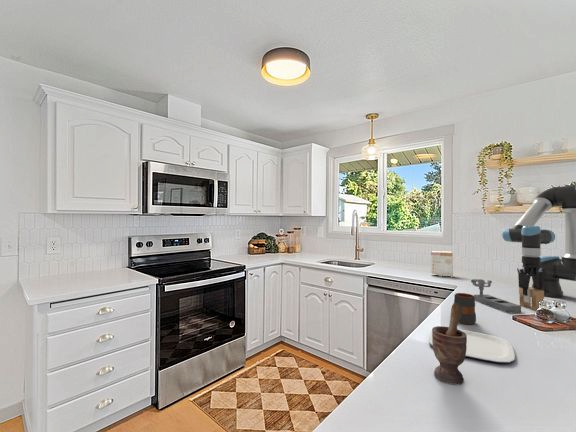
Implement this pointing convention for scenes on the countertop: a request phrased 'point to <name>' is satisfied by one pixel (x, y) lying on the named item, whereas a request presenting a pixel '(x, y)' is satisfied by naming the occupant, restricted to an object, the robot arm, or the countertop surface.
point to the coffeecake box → (442, 263)
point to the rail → (498, 303)
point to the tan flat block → (536, 298)
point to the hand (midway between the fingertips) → (531, 301)
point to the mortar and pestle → (450, 348)
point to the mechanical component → (481, 284)
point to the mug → (466, 308)
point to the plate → (487, 347)
